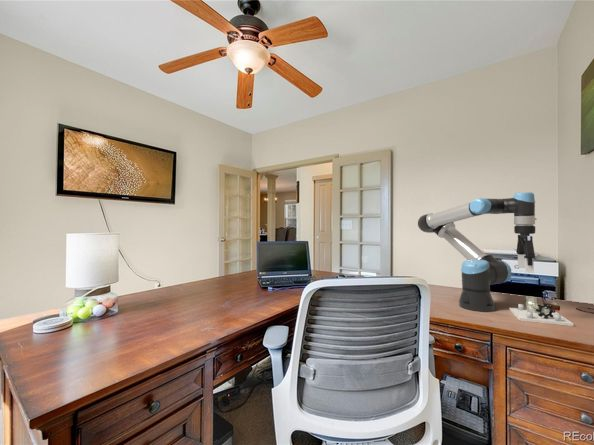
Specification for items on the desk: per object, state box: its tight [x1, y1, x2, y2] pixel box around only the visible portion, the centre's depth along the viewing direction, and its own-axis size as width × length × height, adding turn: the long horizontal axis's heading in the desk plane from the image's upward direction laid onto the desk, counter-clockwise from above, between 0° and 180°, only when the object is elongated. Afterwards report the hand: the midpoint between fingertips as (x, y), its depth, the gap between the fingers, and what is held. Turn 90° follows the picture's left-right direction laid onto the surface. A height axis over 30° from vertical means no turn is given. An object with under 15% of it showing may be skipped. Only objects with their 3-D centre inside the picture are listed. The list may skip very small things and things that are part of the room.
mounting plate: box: [509, 303, 574, 327], centre depth 116 cm, size 17×16×4 cm
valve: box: [525, 295, 557, 319], centre depth 117 cm, size 7×7×12 cm
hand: (525, 270), depth 123 cm, fingers open, 13 cm apart
